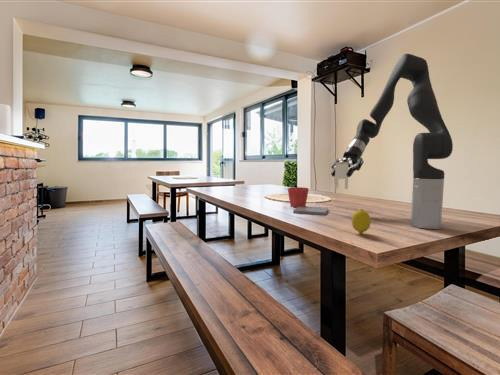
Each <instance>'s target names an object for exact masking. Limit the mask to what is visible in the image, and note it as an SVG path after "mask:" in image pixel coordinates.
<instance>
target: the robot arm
mask: <svg viewBox="0 0 500 375" xmlns="http://www.w3.org/2000/svg"><path fill="white" fill-rule="evenodd" d="M400 79H404V80H407V81H409V82H411V84H412V87H413V88H412V89H411V91H410V92H409V94H408V96H407V102H406V103H407V106H408V111H409V113H410V114H409V115H411V117H412V118H413V119H414V120H415V121H416V122H418V123H419V124H421V126H423V127H424V128H426V129H427V130H428V132H419V133H418V134H416V135H415V137H414V139H413V142H412V143H413V144H412V145H413V147H412V160H413V161H412V173H413V174H412V175H413V176H412V178H413V179H412V192H411V194H412V195H411V196H412V197H411V198H412V199H411V210H410V212H411V213H410V214H411V216H410V225H411V226H413V227H415V228H418V229H431V230H440V229H442V219H443V216H442V215H443V202H444V200H443V199H444V188H445V171H444V170H442V169H440V168H437V167H434V166H433V165H431V164H430V163H429V160H444V159H447V158H449V157H450V156H451V155H452V154H453V147H454V146H453V145H454V144H453V139H452V137H451V134H450V131H449V130H448V128H447V125H446V123H445V122H444V119H443V117H442V114H441V111H440V108H439V104H438V101H437V97H436V94H435V92H434V89H433V85H432V83H431V79H430V71H429V66H428V62H427V60H426V59H425V58H423V57H420V56H417V55H414V54H412V53H404V54H403V55H402V56H401V57H400V58H399V59H398V60H397V62H396V63H395V65H394V67H393V69H392V71H391V73H390V75H389V78H388V79H387V82H386V83H385V86H384V89H383V91H382V92H381V95H380V96H379V99H377V102H376V103H375V105H374V106H373V108H372V109H371V111H370V113H369V117H370V118H371V119H373V120H374V121H375V122H373V121H371V120H370V119H365V118H364V119H362V120H360V121H359V122H358V124H357V127H356V133H355V136H354V138H353V139H352V141H351V142H350V143H349V145H348V146H347V148H346V149H345V151H344V153H343V155H342V158H340V159H339V158H338V157H336V158H335V159H334V161H333V162H332V164H331V165H330V167H331V169H332V170H331V172H330V174H331V177H334V178H335V162H349V164H348V172H347V176H348V178H351V177H352V176H353V173H354V172H355V171H357V172H359V171H360V169H361V167H362V166H363V164H364V163H365V162H364V161H365V160H364V159H363V158H362V156H363V154H364V152H365V150H366V148H367V146H368V144H370V143H369V142H370V139H374V138H376V137H377V136H378V135H379V133H380V130H381V127H382V124H383V122H384V120H385V118H386V116H387V115H388V114H389V113H390V111H391V110H392V107H393V105H394V103H395V102H394V101H395V90H396V86H397V83H398V82H399V81H400Z"/></svg>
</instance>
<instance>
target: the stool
mask: <svg viewBox="0 0 500 375" xmlns="http://www.w3.org/2000/svg"><path fill="white" fill-rule="evenodd" d="M348 164H349V162H335V176H334V189H338V188H339V180H340V179H342V180H344V190H346V189H349V177H348V176H347V172H348V170H349V167H348Z"/></svg>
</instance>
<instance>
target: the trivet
mask: <svg viewBox="0 0 500 375" xmlns="http://www.w3.org/2000/svg"><path fill="white" fill-rule="evenodd" d="M328 211H329V208H328V207H321V206H298V207H295V208H294V209H293V212H292V213H293V214H303V215H315V216H316V215H318V216H325V215H326V214H327V212H328Z"/></svg>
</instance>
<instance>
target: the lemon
mask: <svg viewBox="0 0 500 375" xmlns="http://www.w3.org/2000/svg"><path fill="white" fill-rule="evenodd" d="M371 223H372V222H371V217H370V215H369V213H368V212H367V211H365V210H364V209H363V208H360V209H359V210H357V211H355V212H354V213H353V214H352V217H351V226H352V228H353V229H354V230H355V231H356V232H358V233H359V235H361V234H363V233H364V232H367V231H368V230H369V229H370V227H371Z"/></svg>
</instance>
